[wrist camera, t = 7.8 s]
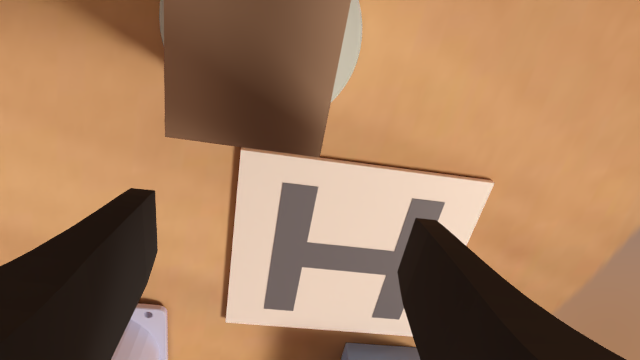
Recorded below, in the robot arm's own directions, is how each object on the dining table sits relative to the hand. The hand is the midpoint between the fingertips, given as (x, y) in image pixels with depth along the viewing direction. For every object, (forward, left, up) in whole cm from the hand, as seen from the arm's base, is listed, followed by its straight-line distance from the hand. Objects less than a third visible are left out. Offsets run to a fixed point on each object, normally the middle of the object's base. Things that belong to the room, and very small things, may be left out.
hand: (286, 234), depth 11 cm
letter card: (+4, -8, -9) cm, 13 cm away
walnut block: (-1, +4, -8) cm, 9 cm away
